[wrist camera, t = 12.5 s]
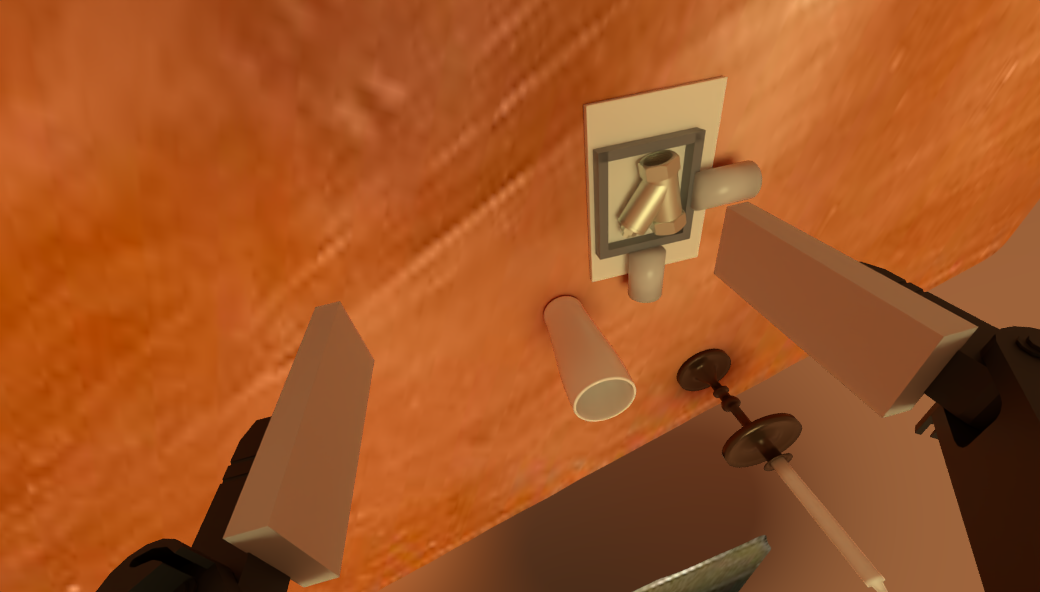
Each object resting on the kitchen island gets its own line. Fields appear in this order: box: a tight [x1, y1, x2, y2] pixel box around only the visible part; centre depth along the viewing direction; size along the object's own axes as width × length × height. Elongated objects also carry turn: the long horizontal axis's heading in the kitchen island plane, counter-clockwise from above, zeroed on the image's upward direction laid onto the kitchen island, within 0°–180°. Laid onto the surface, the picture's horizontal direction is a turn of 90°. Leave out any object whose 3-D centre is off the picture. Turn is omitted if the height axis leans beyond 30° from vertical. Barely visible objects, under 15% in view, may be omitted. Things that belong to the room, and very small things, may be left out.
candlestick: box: [677, 349, 888, 592], centre depth 48 cm, size 11×11×35 cm
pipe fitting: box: [618, 150, 686, 238], centre depth 39 cm, size 8×4×7 cm
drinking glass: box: [544, 296, 636, 421], centre depth 43 cm, size 7×7×15 cm
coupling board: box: [583, 76, 762, 303], centre depth 40 cm, size 22×17×5 cm
